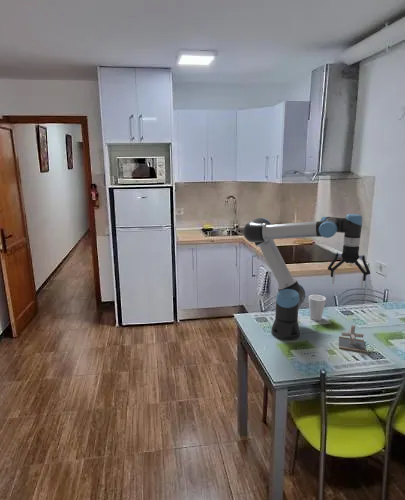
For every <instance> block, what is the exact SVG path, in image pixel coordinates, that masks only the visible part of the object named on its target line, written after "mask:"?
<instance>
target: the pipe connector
mask: <svg viewBox="0 0 405 500" xmlns="http://www.w3.org/2000/svg"><path fill="white" fill-rule="evenodd" d="M350 327H351V328H349V329H348V331H347V332H345V331H341V336H342V337H349V338H350V343H349V344H350V345H353V343H354V341H356V339H357V338H362V339H363V338H364V333H358V332H357V333H356V325H355V324H351V326H350Z"/></svg>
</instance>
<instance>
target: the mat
mask: <svg viewBox="0 0 405 500" xmlns="http://www.w3.org/2000/svg"><path fill="white" fill-rule="evenodd" d="M349 343H350V337H349V336H342V335H340V336H338V349H339V350H345V351H352V352H356V353H362V354H366V346H365V340H364V339H361V338H356V341H354V343H353V345H350V344H349Z"/></svg>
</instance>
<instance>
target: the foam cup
mask: <svg viewBox="0 0 405 500" xmlns="http://www.w3.org/2000/svg"><path fill="white" fill-rule="evenodd" d="M326 301H327V298H326V296H324V295H320V294H311V295H308V306H309V318H310V320H312V319H313V320H312V321H317V320H318V321H321V320H322V318H323V312H324V310H325V309H324V308H325V304H326Z"/></svg>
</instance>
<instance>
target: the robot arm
mask: <svg viewBox="0 0 405 500" xmlns="http://www.w3.org/2000/svg"><path fill="white" fill-rule="evenodd" d="M362 227H363V216H362V215H361V214H356V213H347V214H346V217H337V216H336V217H335V216H322V217H321V218H320V220H318V221H305V222H303V221H302V222H291V223H277V224H272V223H271V221H269V220H268V219H266V218H263V217H259V218H256V219H253V220H252V221H249V222H247V223H246V224H245V225H244V226H243V236H244V239H246V240H247V241H248V242H250V243H254V245H255V247H259V249H260V251H261V253H262V255H263V257H264V258H265V261H266V263H267V264H268V267H269V268H270V270H271V272H272V274H273V276H274V279H275V280H276V282H277V284H278V286H277V290H278V292H277V293H276V296H275V319H274V321H273V324H272V326H271V330H270V331H271V334H272V336H273V337H275V338H277V339H279V340H284V341H285V340H286V341H293V340H297V339H299V338H300V337H301V329H300V325H299V321H298V320H299V309H300V307H301V305H302V304H303V303H304V301H305V298H306V290H305V288H304V287H303V285H301V284H300V283H299V282H298V279H295V278H293V276H292V274H291V273H290V270H289V268H288V266H287V264H286V262H285V260H284V258H283V256H282V254H281V252H280V250H279V248H278V246H277V244H276V242H275V240H281V239H282V240H283V239H299V238H314V237H315V238H317V237H318V238H319V237H323V238H327V239H328V238H332V237H334V236H335V235H336V234H337V233H339V234H340V233H341V234H342V233H343V234H344V236H343V245H342V253H339V252H336V253H335V256H334V258H333V259H332V261H331V262H330V264H329V265H328V266H327V271H330V277H331V278H332V283H331V284H332V285H334V284H335V278H336V277H335V275H336V270H337V269H338V268H339V267H340V266H341V265H342V264H344V263H346V264H355V265H356V266H357V268H358V269H359V270H360V272H361V279H360V286H359V287H360V288H363V284H364V282H366V279H367V276H368V275H371V271H370V268H369V266H368V264H367V260H366V256H365V254H363V255H359V253H360V244H361V234H362ZM339 258H341V260H340V261H339V262H337V263H336V261H337V260H338V259H339ZM359 259H360V260H361V261H362V263H363V267H364V268H365V269H364V268H363V267H362V265H361V264H360V262H359V261H358V260H359ZM335 263H336V264H335ZM334 264H335V265H334Z"/></svg>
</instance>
